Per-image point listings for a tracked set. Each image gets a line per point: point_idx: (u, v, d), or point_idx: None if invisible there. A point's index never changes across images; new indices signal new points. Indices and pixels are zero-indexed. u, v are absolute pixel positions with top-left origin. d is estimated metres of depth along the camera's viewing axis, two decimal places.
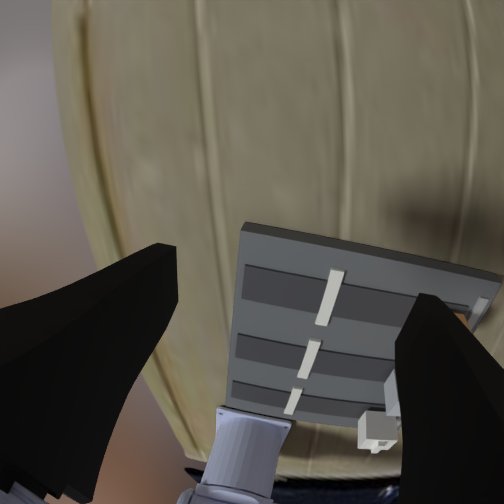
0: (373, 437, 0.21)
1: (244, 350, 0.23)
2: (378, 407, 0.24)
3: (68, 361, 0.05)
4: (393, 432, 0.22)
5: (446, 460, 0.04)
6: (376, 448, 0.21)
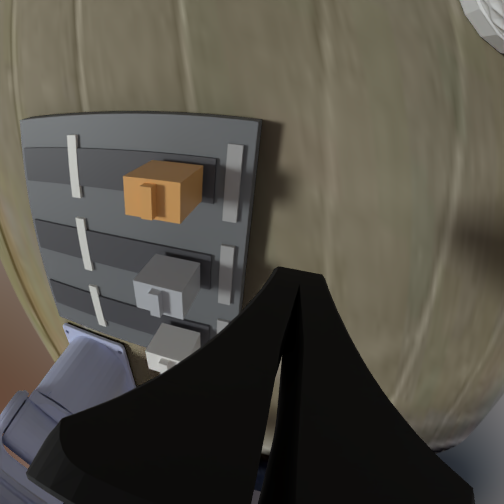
0: (155, 351, 0.20)
1: (43, 237, 0.22)
2: (180, 322, 0.23)
3: None
4: (184, 352, 0.20)
5: (277, 453, 0.05)
6: (161, 368, 0.20)
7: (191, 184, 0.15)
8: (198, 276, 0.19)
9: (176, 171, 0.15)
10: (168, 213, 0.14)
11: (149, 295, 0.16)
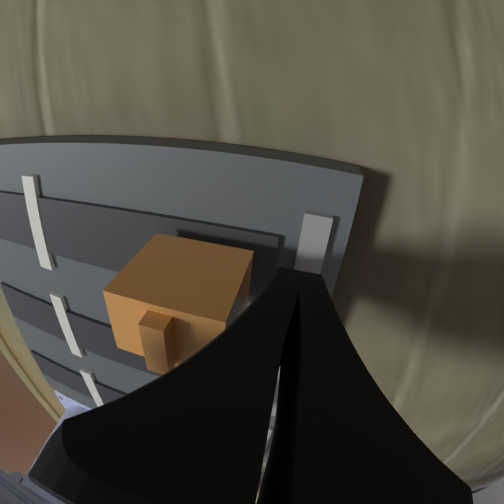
0: None
1: (14, 306, 0.15)
2: None
3: None
4: None
5: (276, 452, 0.05)
6: None
7: (239, 301, 0.08)
8: None
9: (208, 274, 0.08)
10: None
11: None
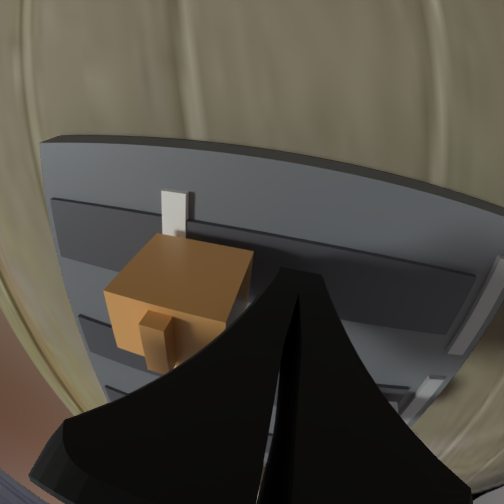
0: None
1: (95, 342, 0.14)
2: None
3: None
4: None
5: (276, 452, 0.05)
6: None
7: (239, 301, 0.08)
8: None
9: (208, 274, 0.08)
10: None
11: None
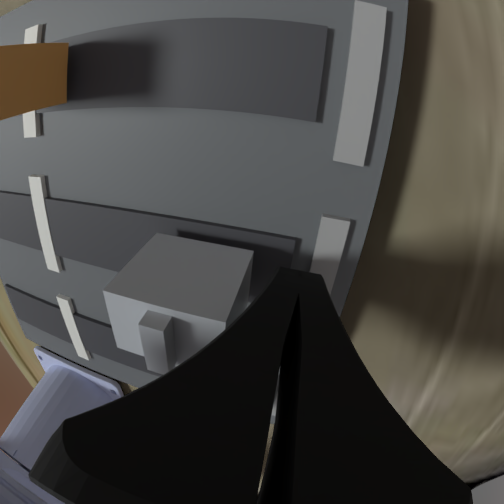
0: None
1: None
2: None
3: None
4: None
5: (276, 452, 0.05)
6: None
7: (29, 61, 0.05)
8: (249, 279, 0.09)
9: None
10: None
11: (142, 330, 0.06)
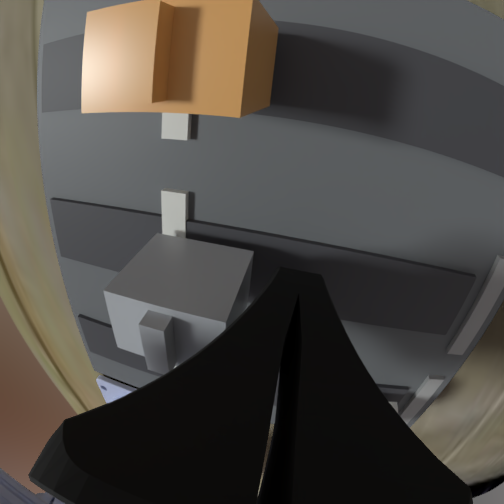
0: None
1: (67, 237, 0.11)
2: None
3: None
4: None
5: (276, 452, 0.05)
6: None
7: (265, 37, 0.05)
8: (249, 280, 0.09)
9: None
10: (204, 88, 0.04)
11: (142, 330, 0.06)
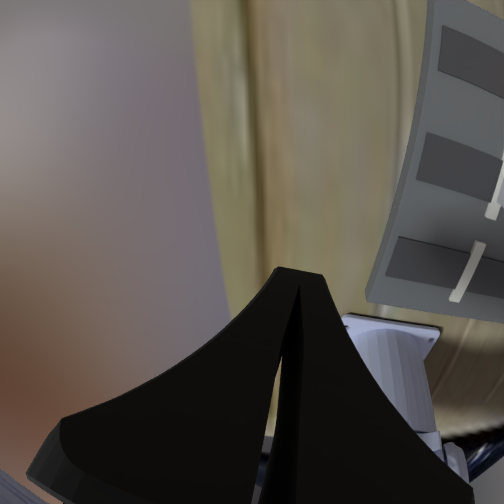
0: None
1: (432, 164, 0.14)
2: None
3: None
4: None
5: (277, 453, 0.05)
6: None
7: None
8: None
9: None
10: None
11: None
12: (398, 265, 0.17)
